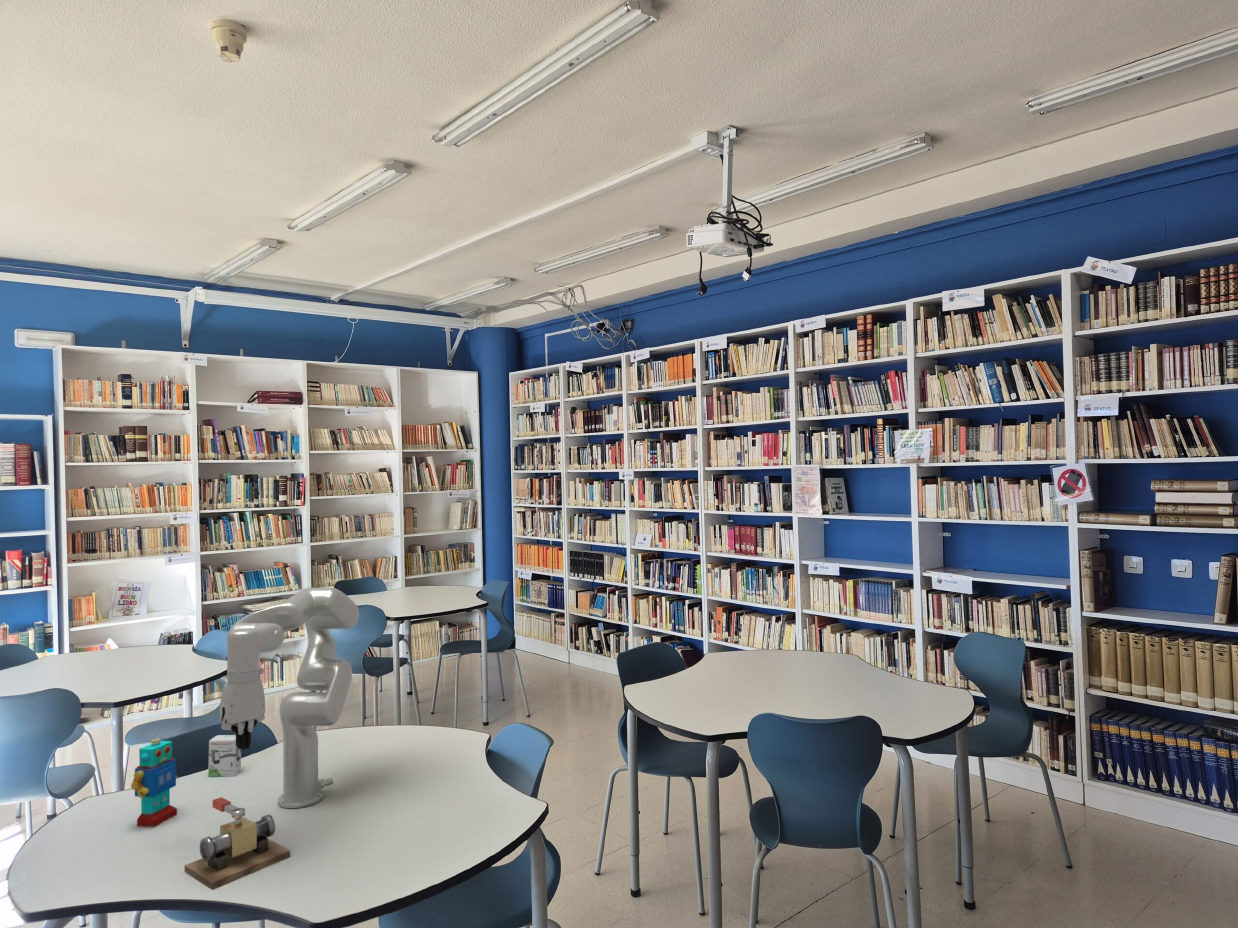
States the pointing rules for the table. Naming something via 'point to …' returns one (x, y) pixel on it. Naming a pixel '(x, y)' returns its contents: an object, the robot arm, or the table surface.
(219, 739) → the ink box
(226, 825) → the valve pipe
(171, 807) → the toy robot
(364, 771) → the table surface
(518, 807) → the table surface
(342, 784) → the table surface
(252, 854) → the mounting board
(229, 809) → the valve lever
